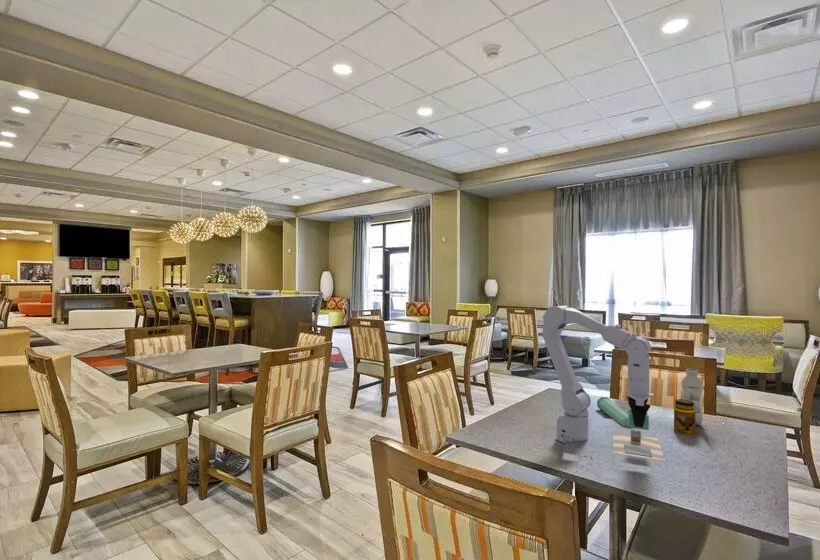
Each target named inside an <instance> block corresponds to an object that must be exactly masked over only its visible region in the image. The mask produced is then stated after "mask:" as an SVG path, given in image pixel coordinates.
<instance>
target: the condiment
mask: <svg viewBox="0 0 820 560" xmlns="http://www.w3.org/2000/svg"><path fill="white" fill-rule="evenodd" d="M674 402H675V403H674V408H673V432H675V433H676V434H680V435H684V436H695V435H696V425H695V410H694V403H693V402H692V401H690V400H685V399H683V398H682V399H681V398H678V399H675V401H674Z"/></svg>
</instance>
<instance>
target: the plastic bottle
mask: <svg viewBox="0 0 820 560" xmlns="http://www.w3.org/2000/svg"><path fill="white" fill-rule="evenodd" d="M684 376H685V377H684V378H682V380H681V390H682V399H685V400H690V401H692V402H693V403H694V410H695V426H700V425H702V423H703V422H704V421H703V420H704V419H703V418H704V416H703V414H702V405H701V403H702V402H701V399H702V392H703V386H704V385H703V383H702V381H701V379H700V378H699V377H698V376H699V370H698V368H686V369H685V375H684Z"/></svg>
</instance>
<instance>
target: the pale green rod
mask: <svg viewBox="0 0 820 560" xmlns="http://www.w3.org/2000/svg"><path fill="white" fill-rule="evenodd" d="M596 407H597V408H598V409H599V410H600V411H603V412H604V413H605V414H606V415H608V417H610V418H611V419H612V420H615V422H617V423H619V424H620V425H621V426H623V427H629V423H628V413H627V412H626V411H624V410H623V409H622V408H621V407H619V406H618V405H616V404H615V403H614V402H613V401H612V400H611V399H610V398H609V397H607V396H600V397H599V398H598V399H597V401H596Z"/></svg>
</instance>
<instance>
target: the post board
mask: <svg viewBox="0 0 820 560" xmlns="http://www.w3.org/2000/svg"><path fill="white" fill-rule="evenodd" d="M641 434H642V431H641V429H636V428H631V429H630V434H628V433H620V432H614V431H613V432H612V445H613V454H619V455H624V456H632V457H637V458H642V459H643V458H644V459H649V460H656V461H664V462H665V461H666V459H665V457H664V454H663V451H662V448H661V444H660V441H659V439H658V438H656V437H650V436H643V435H641Z"/></svg>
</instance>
